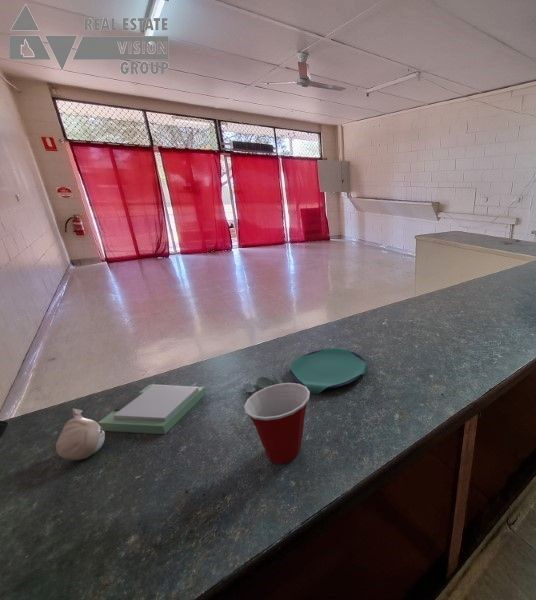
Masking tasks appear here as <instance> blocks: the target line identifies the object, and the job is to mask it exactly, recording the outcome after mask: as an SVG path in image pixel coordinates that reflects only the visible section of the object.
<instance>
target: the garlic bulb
mask: <svg viewBox="0 0 536 600" xmlns="http://www.w3.org/2000/svg"><path fill="white" fill-rule="evenodd" d="M83 411H84V409H79V408H72V415H73V417H72V418H71V419H68V421H67V422H66V423H65V424H64V426H63V428H62V430H61V432H60V434H59V437H58V439H57V441H56V443H55V449H56V453H57V455H58V456H60V457H61V458H62V459H65V460H69V461H81V460H84V459H88V458H90V457H91V456H92V455H94V454H95V453H96V452H98V451H99V450H100V449H101V448H102V446H103V445H104V443H105V439H106V436H105V435H106V431H103V428H101V427H100V426H99V424H98V422H97V421H95V420H93V419H90V418H86V417H83V415H82V413H83Z"/></svg>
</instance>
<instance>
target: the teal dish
mask: <svg viewBox="0 0 536 600" xmlns="http://www.w3.org/2000/svg"><path fill="white" fill-rule="evenodd" d="M368 368H369V365H368V363H367V362H366V360H365V358H363V357H362V356H361V354H358V353H356V352H354V351H352V350H349V348H345V347H344V348H343V347H327V348H323V349H319V350H315V351H311V352H309V353H306V354H303V355H301V356H298V357H297V358H296V359H294V361H293V362H292V363H291V364H290V366H289V367H288V369H289V375H290V378H291V379H292V380H293V381H294V382H295V383H296V384H301V385H303V386H305V387H307V389H308V390H309V391H310V393H312V394H315V395H319V394H321V393H322V392H323V391H324V390H330V389H338V388H341V387H343V386H347V385H350V384H352V383H353V382H355V381H358V380H359V379H360V378H361V377H362V376H363V375H366V373H367V371H368ZM271 375H272V377H273V378H274V379H275V381H276V382H277V384H282V383H284V382H283V380H282V379H281V378H280V376H279V375H278V374H276V373H271ZM255 382H256V387H258V388H260V390H262V389H264V388H266V387H269V386H272V385H273V383H272V379H270V378H269V377H268V376H267V377H266V376H260V377H258V378H257V379H256V381H255ZM242 385H243V387H244V389H245V392H246V395H248V396H250V397H251V396H252V395H253V394H254V393H256V392H258V391H257V388H256V387H254V385H253V384H252V383H251V382H250V381H248V382H245V383H243V384H242Z"/></svg>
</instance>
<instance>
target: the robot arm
mask: <svg viewBox="0 0 536 600" xmlns="http://www.w3.org/2000/svg"><path fill="white" fill-rule="evenodd" d="M8 425H9V423H8V421H6V420H0V438H1V437H2V436H3V434H4V433H5V431H6V428H7V427H8Z"/></svg>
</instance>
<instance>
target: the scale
mask: <svg viewBox="0 0 536 600" xmlns="http://www.w3.org/2000/svg"><path fill="white" fill-rule="evenodd" d="M206 394H207V393H206V389H205V386H190V385H169V384H148V385H147V386H145V387H144V388H143V389H141V390H140V391H138V392H136V393H135V394H133V395H132V396H130V397H129V398H128V399H127V400H125V401H124V402H123V403H121V404H120V405H118V406H117V407H116V408H114V410H112V412H110V413H109V414H107V415H106V416H105V417H103V418H102V419H100V420H99V421H98V422H97V423H98V424H99V426H100V427H101V428H103V431H104V432H116V433H118V432H119V433H135V434H151V435H152V434H153V435H166V434H167V433H168V432H169V431H170V430H171V429H172V428H173V427H174V426H175V425H176V424H178V422H179V421H180V420H181V419H182V418H183V417H185V415H186V414H187V413H188V412H189V411H190V410H191V409H193V407H194V406H196V405H197V403H198V402H199V401H201V400H202V399H203V398H204V397H205V396H206Z"/></svg>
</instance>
